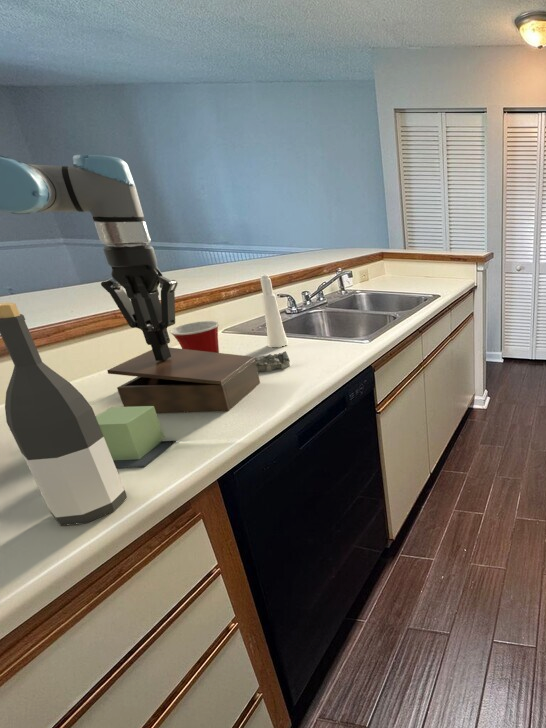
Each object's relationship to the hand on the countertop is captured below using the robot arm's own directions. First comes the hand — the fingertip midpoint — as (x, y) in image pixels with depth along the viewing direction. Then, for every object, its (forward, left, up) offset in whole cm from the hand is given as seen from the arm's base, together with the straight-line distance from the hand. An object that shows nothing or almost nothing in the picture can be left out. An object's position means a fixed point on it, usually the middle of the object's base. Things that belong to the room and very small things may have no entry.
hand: (163, 358), depth 92 cm
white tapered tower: (+6, +43, -11) cm, 45 cm away
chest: (+5, 0, -10) cm, 11 cm away
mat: (+5, -22, -10) cm, 25 cm away
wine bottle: (+10, -38, -11) cm, 41 cm away
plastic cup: (-5, +22, -11) cm, 25 cm away
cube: (+5, -22, -10) cm, 25 cm away
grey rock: (+12, +20, -11) cm, 25 cm away
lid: (+5, 0, -2) cm, 5 cm away
